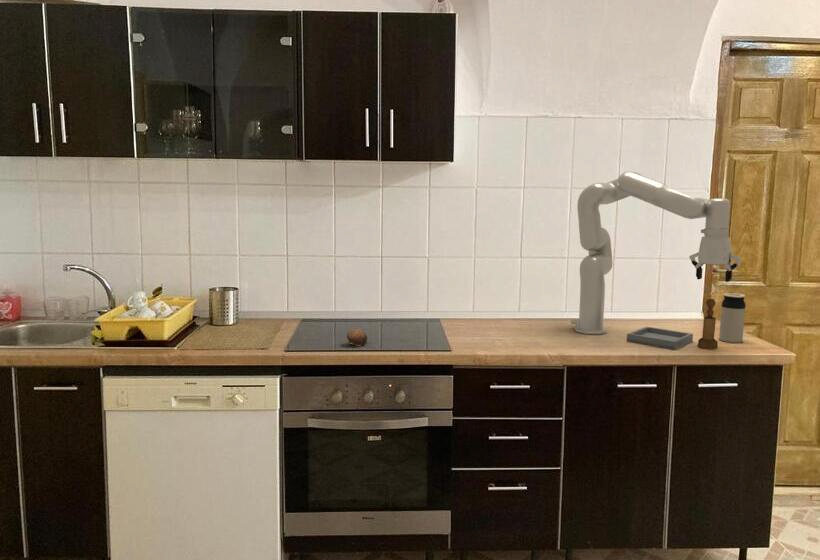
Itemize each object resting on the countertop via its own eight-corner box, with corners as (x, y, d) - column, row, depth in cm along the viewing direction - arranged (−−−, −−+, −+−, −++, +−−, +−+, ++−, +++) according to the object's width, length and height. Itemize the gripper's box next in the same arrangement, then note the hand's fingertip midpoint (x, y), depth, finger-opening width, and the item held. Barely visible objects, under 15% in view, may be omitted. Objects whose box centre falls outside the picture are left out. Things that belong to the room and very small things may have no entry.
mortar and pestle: (715, 350, 221) (719, 301, 218) (695, 347, 224) (699, 299, 222) (718, 346, 226) (722, 298, 223) (700, 344, 230) (703, 296, 227)
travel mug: (728, 343, 231) (732, 296, 228) (714, 338, 238) (718, 293, 236) (747, 342, 232) (751, 296, 230) (732, 337, 240) (736, 292, 237)
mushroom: (342, 334, 228) (349, 322, 225) (360, 340, 232) (368, 328, 229) (343, 348, 222) (351, 336, 219) (362, 354, 225) (370, 343, 222)
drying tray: (626, 341, 233) (627, 333, 232) (646, 333, 246) (646, 326, 245) (674, 350, 221) (675, 341, 220) (692, 341, 233) (693, 333, 233)
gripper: (687, 232, 222) (684, 279, 225) (739, 234, 210) (736, 283, 213) (694, 231, 228) (692, 277, 230) (745, 233, 216) (742, 281, 218)
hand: (713, 280), depth 221 cm, fingers open, 9 cm apart
